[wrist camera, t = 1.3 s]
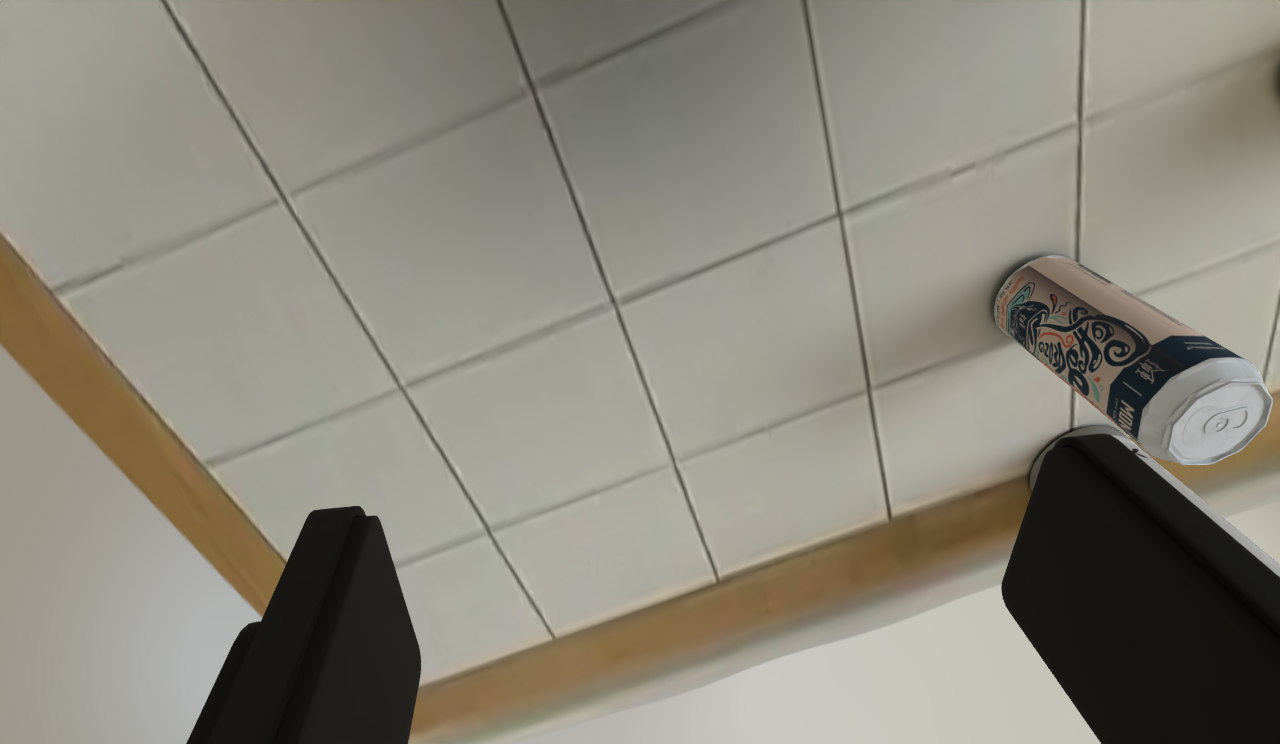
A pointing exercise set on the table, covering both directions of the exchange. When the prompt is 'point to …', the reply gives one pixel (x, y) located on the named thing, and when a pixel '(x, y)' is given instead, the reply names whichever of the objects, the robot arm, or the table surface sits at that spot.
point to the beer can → (1134, 362)
